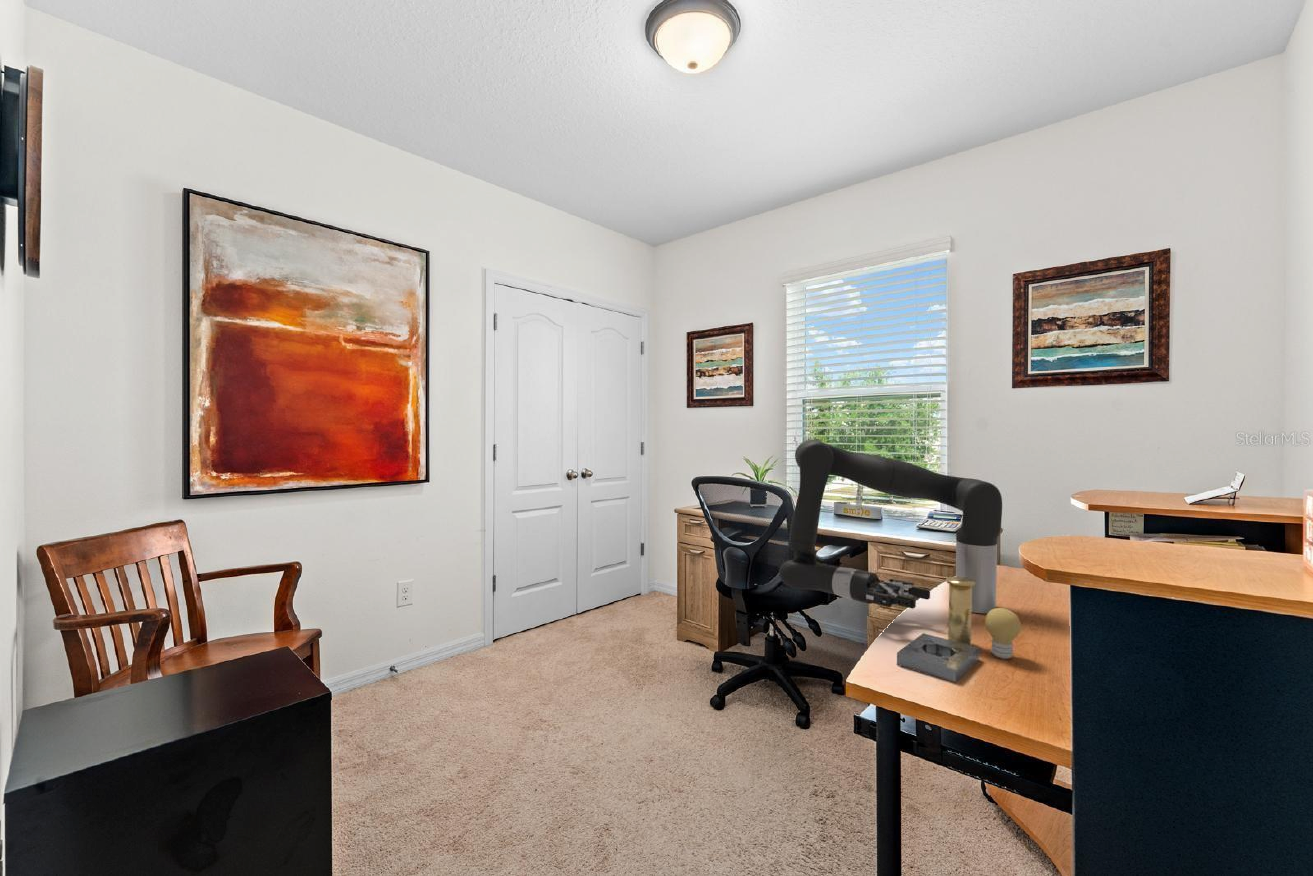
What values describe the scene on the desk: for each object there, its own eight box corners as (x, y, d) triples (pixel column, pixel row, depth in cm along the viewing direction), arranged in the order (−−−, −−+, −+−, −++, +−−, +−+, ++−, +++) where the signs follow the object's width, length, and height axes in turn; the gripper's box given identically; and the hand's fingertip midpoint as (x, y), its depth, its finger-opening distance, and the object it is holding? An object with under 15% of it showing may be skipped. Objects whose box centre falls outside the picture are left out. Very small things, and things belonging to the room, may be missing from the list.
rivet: (950, 636, 128) (951, 575, 128) (977, 643, 124) (978, 580, 124) (941, 643, 124) (942, 580, 124) (969, 651, 120) (970, 586, 120)
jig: (923, 644, 124) (923, 633, 124) (978, 659, 116) (978, 647, 116) (896, 664, 114) (896, 652, 114) (955, 682, 106) (955, 670, 106)
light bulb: (1020, 665, 113) (1021, 616, 113) (983, 658, 117) (984, 611, 116) (1020, 654, 119) (1020, 607, 118) (984, 647, 122) (985, 602, 122)
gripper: (841, 575, 136) (910, 590, 124) (868, 564, 146) (934, 576, 134) (841, 606, 136) (910, 623, 125) (868, 593, 146) (933, 607, 135)
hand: (922, 599), depth 130 cm, fingers open, 8 cm apart
